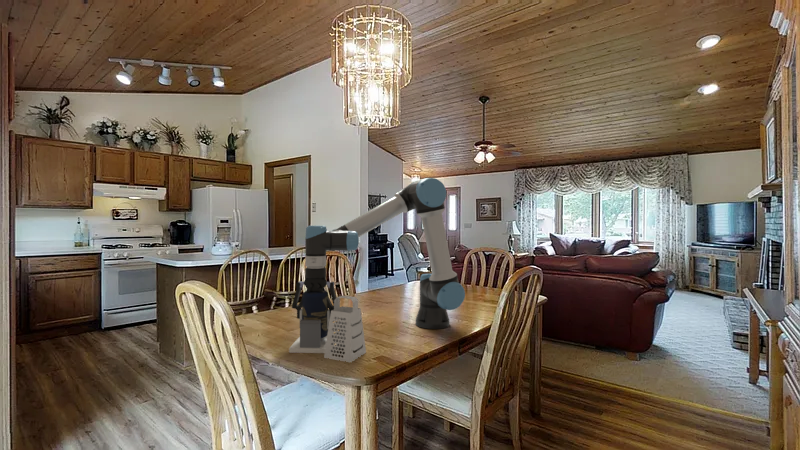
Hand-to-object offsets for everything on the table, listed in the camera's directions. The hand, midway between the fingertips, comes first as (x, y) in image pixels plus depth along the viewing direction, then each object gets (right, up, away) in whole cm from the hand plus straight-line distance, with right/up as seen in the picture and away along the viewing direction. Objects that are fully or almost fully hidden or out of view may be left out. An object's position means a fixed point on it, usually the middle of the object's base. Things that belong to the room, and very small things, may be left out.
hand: (315, 327), depth 141 cm
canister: (0, -4, 0) cm, 4 cm away
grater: (+13, -7, -10) cm, 18 cm away
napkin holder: (0, -6, 0) cm, 6 cm away
